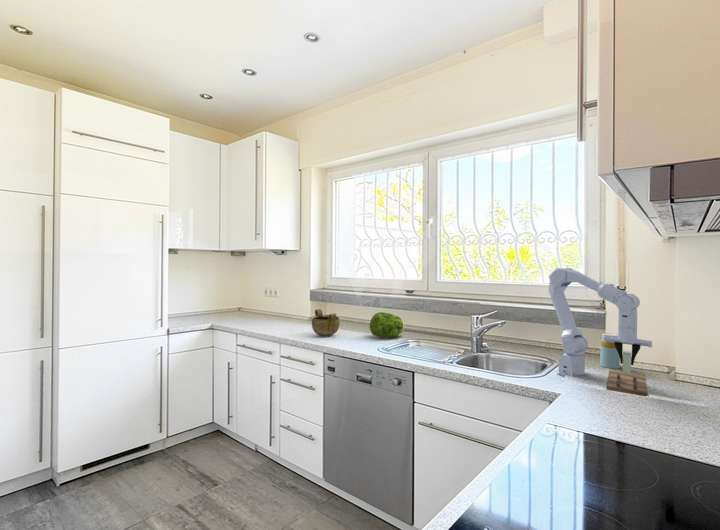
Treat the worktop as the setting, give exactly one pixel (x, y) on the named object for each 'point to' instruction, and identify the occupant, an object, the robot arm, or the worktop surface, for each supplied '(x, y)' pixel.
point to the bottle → (609, 353)
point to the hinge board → (627, 383)
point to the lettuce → (386, 325)
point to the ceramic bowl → (325, 324)
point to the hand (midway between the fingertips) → (626, 363)
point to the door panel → (627, 361)
